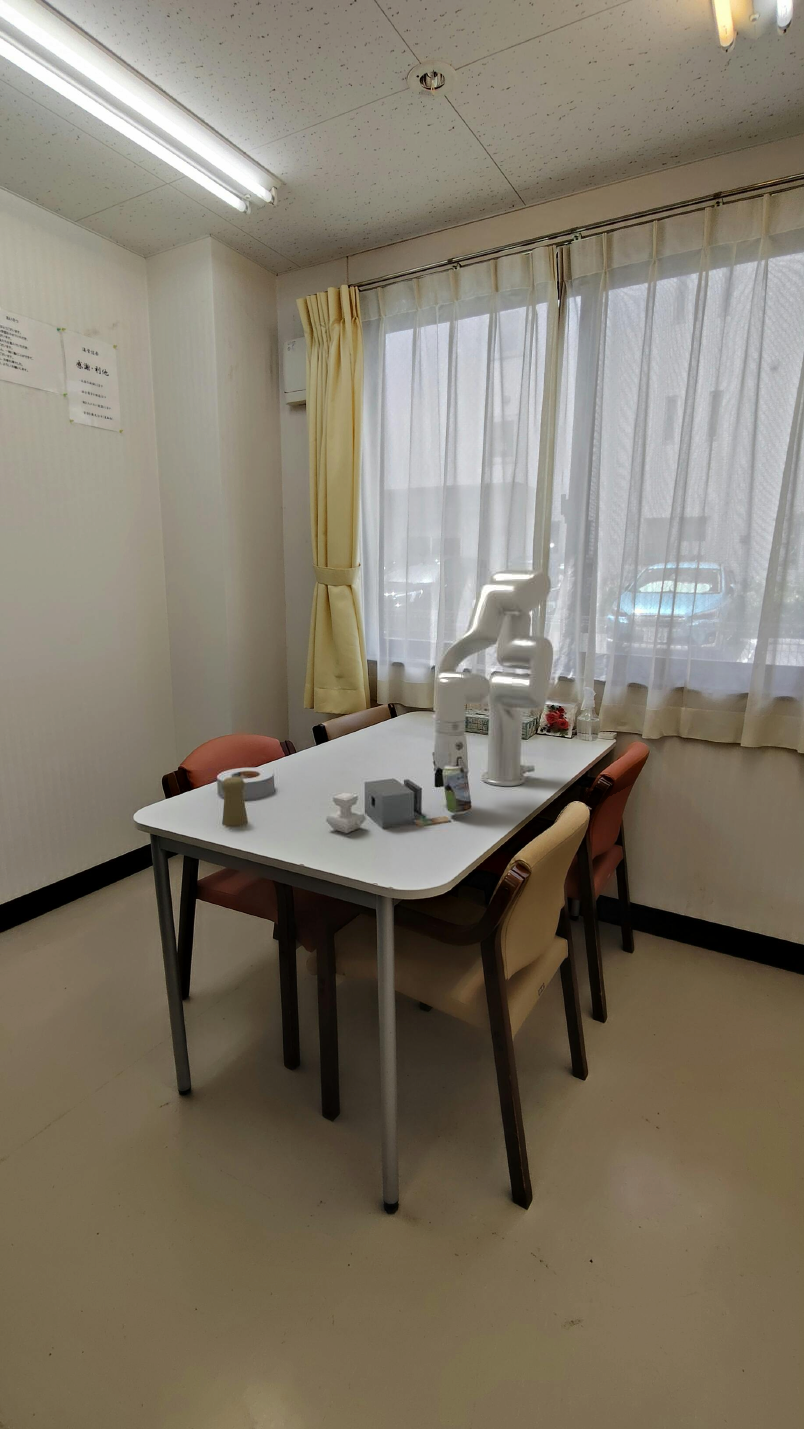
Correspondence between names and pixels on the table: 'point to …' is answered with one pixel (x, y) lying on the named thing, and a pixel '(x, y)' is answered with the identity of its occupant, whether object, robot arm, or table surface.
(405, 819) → the block
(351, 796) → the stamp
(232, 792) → the cork
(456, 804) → the beverage can
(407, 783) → the plunger
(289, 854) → the table surface
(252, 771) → the tape roll
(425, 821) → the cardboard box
